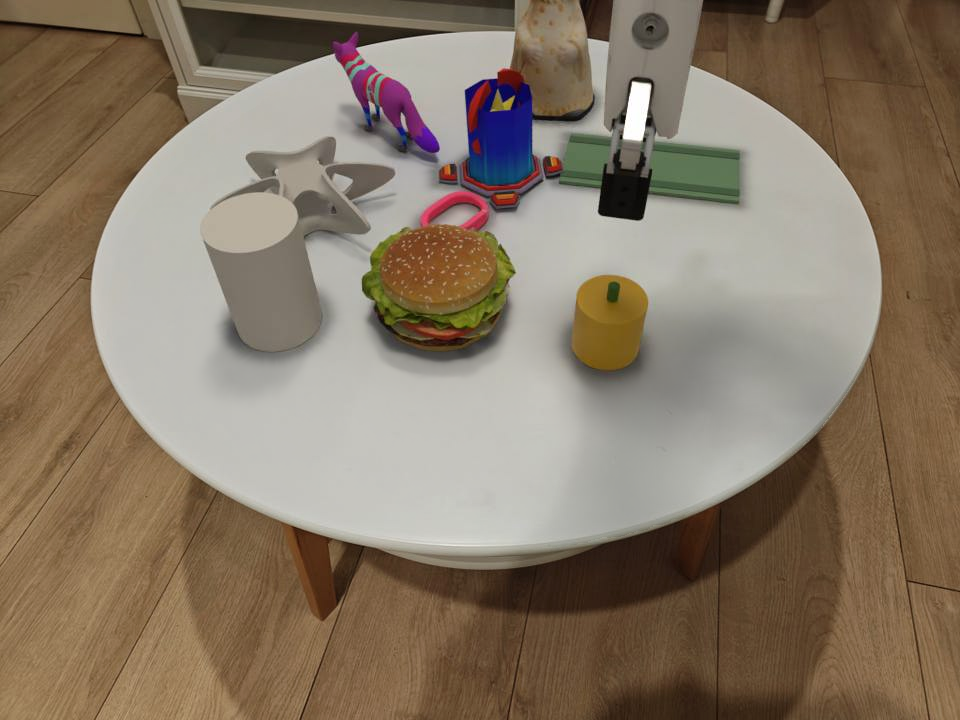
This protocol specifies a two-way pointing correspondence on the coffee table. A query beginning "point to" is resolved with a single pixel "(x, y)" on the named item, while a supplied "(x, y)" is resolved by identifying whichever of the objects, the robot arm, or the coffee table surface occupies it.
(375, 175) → the sculpture
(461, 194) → the fitness band
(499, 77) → the fantasy tower
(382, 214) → the coffee table surface
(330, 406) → the coffee table surface
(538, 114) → the figurine
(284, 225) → the beige solid cylinder
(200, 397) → the coffee table surface
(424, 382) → the coffee table surface
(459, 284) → the food
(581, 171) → the green grooved tray
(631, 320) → the yellow stemmed cylinder
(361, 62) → the magenta toy fox
